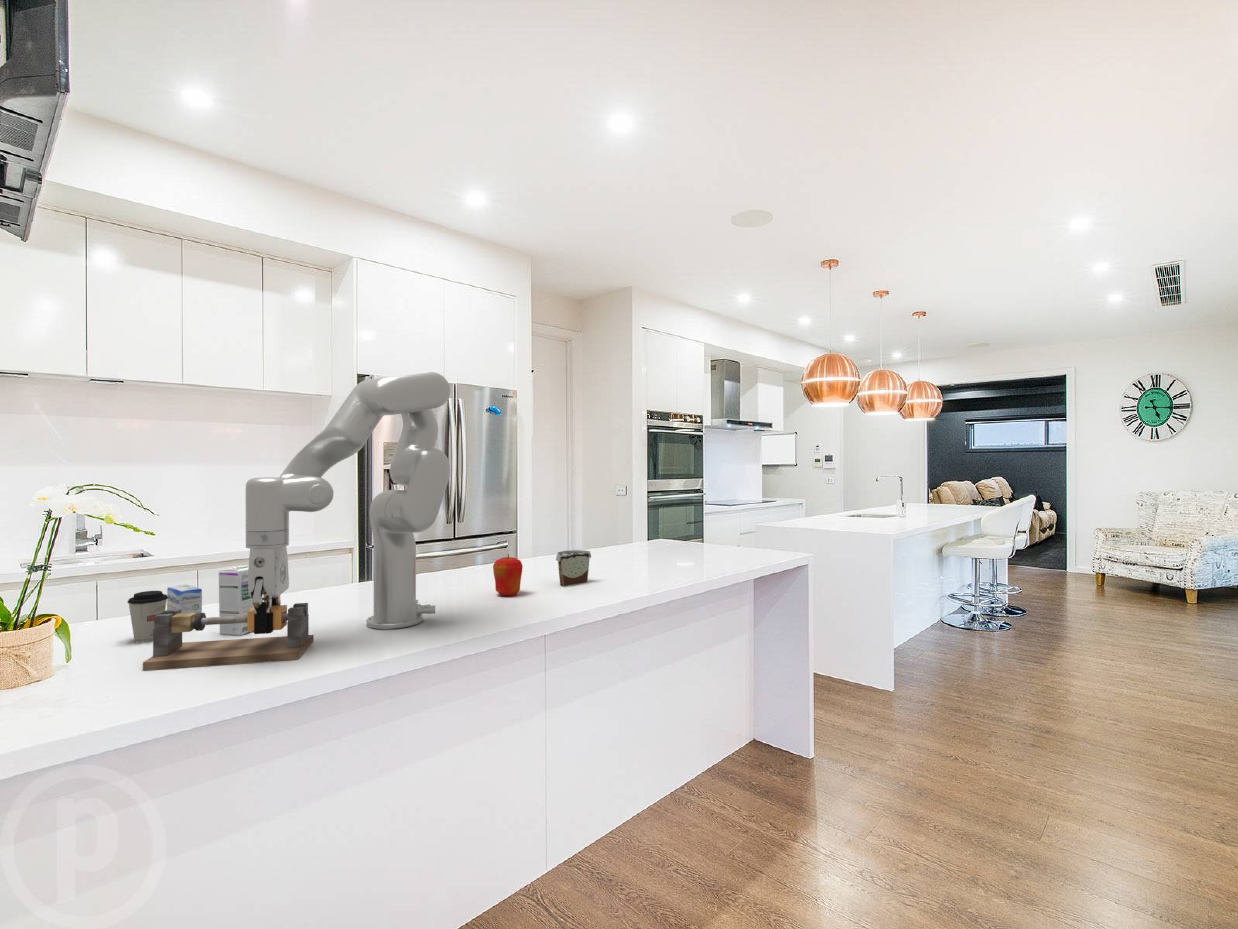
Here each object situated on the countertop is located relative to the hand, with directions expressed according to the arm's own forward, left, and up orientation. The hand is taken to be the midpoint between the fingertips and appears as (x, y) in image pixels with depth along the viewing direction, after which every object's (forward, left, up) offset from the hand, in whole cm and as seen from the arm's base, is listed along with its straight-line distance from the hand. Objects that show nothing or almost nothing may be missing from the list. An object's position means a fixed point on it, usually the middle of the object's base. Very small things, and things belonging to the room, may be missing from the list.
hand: (267, 629), depth 121 cm
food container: (-70, -54, -5) cm, 89 cm away
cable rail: (+6, 0, -5) cm, 8 cm away
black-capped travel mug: (+28, -16, -5) cm, 33 cm away
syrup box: (+11, -18, -5) cm, 22 cm away
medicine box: (+26, -28, -5) cm, 38 cm away
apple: (-50, -42, -5) cm, 66 cm away
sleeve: (0, 0, 0) cm, 0 cm away
